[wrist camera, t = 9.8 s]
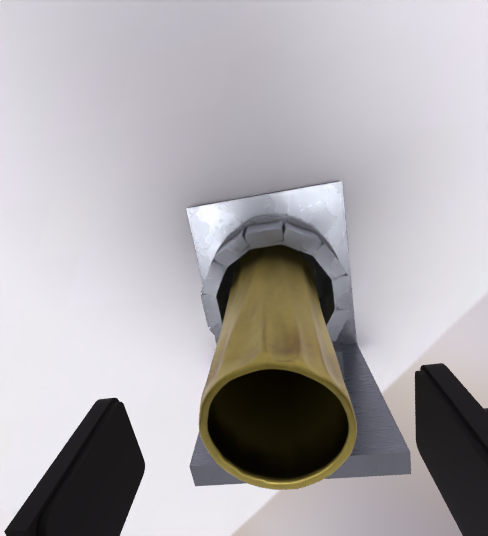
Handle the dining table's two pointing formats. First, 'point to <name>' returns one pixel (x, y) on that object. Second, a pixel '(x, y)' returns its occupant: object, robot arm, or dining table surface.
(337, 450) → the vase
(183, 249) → the dining table surface
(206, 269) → the cup bracket
